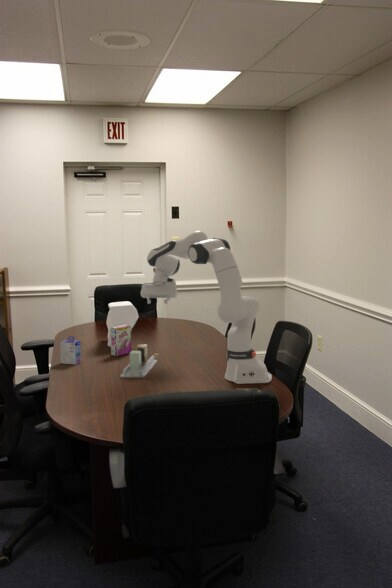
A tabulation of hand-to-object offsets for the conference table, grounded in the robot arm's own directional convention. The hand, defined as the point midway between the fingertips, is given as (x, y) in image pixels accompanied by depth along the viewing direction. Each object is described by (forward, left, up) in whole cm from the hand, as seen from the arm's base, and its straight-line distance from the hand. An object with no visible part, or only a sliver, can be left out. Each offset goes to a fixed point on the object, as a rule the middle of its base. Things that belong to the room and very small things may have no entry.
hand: (157, 303), depth 267 cm
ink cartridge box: (+46, +11, -32) cm, 57 cm away
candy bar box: (+24, -9, -32) cm, 41 cm away
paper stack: (+31, -35, -32) cm, 56 cm away
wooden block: (+6, +13, -30) cm, 34 cm away
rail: (+6, +19, -31) cm, 37 cm away
